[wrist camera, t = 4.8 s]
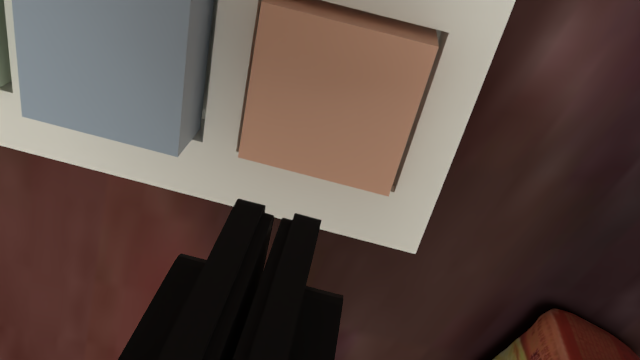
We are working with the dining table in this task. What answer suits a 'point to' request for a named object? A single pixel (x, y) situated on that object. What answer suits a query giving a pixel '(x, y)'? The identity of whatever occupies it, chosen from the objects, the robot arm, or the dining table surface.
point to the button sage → (4, 49)
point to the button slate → (115, 67)
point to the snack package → (566, 341)
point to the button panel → (279, 184)
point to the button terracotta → (334, 91)
